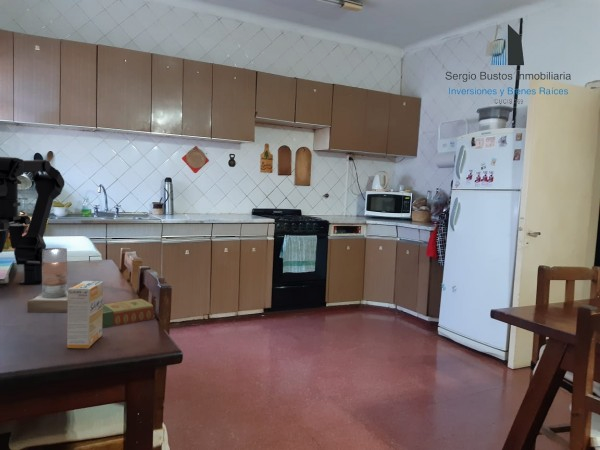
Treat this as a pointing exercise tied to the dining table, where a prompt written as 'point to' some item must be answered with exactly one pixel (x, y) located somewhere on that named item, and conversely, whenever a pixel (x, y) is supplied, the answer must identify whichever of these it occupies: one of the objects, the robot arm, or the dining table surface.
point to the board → (48, 304)
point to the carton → (126, 312)
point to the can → (54, 272)
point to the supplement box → (84, 314)
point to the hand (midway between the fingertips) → (6, 250)
